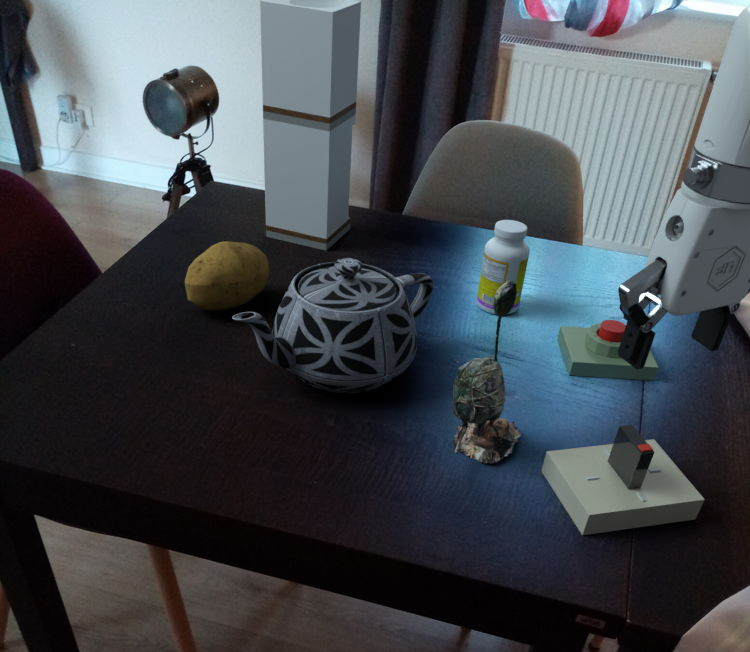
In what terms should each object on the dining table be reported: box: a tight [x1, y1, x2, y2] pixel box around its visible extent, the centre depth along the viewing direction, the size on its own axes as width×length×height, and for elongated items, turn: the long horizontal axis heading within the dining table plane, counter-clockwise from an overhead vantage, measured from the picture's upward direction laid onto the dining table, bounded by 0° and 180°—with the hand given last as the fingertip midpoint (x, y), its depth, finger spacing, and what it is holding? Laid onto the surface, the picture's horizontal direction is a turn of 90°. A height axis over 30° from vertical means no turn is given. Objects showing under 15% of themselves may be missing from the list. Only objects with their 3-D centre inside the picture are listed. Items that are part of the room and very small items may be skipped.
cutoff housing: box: [556, 322, 659, 382], centre depth 111 cm, size 12×10×4 cm
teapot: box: [231, 257, 434, 394], centre depth 100 cm, size 19×31×15 cm, turn 127°
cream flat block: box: [541, 438, 705, 536], centre depth 88 cm, size 14×11×3 cm
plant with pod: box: [451, 280, 522, 464], centre depth 88 cm, size 8×11×20 cm
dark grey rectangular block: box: [608, 424, 654, 489], centre depth 86 cm, size 5×2×5 cm, turn 14°
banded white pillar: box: [259, 0, 362, 252], centre depth 127 cm, size 11×11×35 cm
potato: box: [184, 240, 270, 312], centre depth 114 cm, size 10×13×9 cm
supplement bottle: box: [476, 219, 530, 315], centre depth 118 cm, size 7×7×13 cm
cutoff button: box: [598, 319, 626, 343], centre depth 109 cm, size 4×4×2 cm
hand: (667, 352), depth 77 cm, fingers open, 9 cm apart
